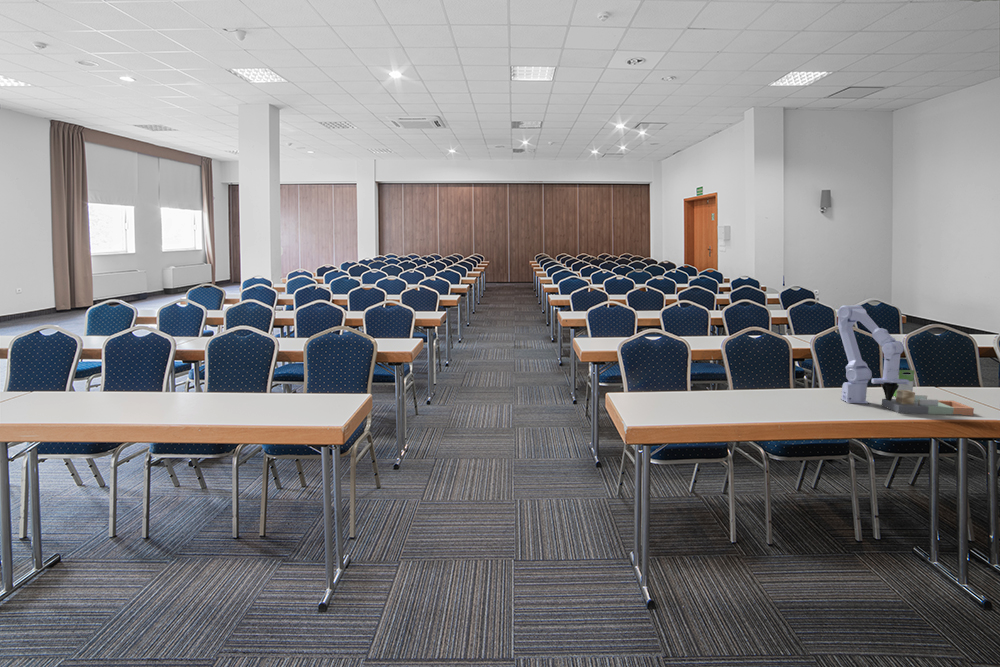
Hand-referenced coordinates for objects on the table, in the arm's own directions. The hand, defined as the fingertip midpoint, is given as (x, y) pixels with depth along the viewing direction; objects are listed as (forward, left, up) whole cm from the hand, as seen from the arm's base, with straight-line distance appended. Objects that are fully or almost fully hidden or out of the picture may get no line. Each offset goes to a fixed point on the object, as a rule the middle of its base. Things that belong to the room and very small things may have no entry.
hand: (888, 400), depth 281 cm
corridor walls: (+14, 0, -1) cm, 14 cm away
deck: (+16, 0, -4) cm, 16 cm away
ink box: (+19, +25, -4) cm, 32 cm away
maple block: (+7, 0, -1) cm, 7 cm away
